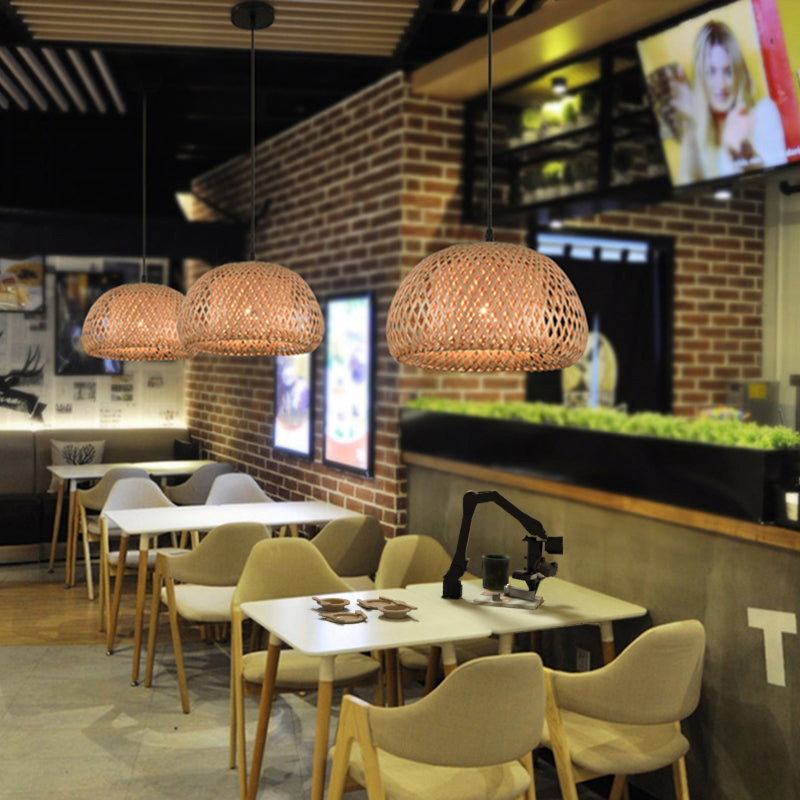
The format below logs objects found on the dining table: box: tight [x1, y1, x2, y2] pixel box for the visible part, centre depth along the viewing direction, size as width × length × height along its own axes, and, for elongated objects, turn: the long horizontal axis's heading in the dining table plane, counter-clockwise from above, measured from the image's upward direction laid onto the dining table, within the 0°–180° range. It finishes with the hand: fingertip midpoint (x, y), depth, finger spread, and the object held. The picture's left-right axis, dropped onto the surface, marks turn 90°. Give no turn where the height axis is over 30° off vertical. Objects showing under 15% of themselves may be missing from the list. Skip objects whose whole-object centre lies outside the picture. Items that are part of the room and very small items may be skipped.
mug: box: [481, 553, 511, 590], centre depth 399 cm, size 11×15×12 cm
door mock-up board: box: [473, 590, 544, 610], centre depth 372 cm, size 22×18×4 cm
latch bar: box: [503, 583, 536, 600], centre depth 374 cm, size 13×4×4 cm, turn 46°
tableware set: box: [311, 595, 418, 624], centre depth 349 cm, size 35×29×4 cm
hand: (533, 596), depth 373 cm, fingers closed
